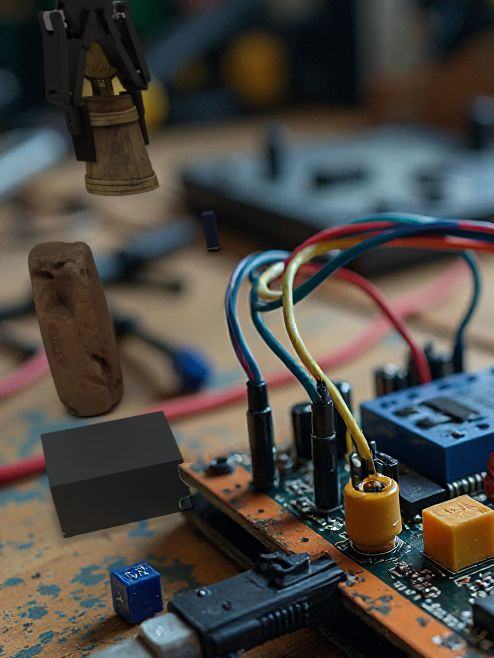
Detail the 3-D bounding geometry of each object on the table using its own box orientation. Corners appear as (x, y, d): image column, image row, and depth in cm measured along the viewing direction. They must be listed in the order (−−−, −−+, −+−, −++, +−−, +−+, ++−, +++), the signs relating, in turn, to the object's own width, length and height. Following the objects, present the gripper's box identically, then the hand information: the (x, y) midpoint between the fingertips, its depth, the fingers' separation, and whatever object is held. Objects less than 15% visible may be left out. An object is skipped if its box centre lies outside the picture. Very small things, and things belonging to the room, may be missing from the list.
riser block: (63, 538, 108) (49, 486, 105) (53, 482, 119) (40, 434, 116) (193, 508, 113) (183, 458, 110) (172, 457, 123) (162, 410, 120)
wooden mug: (153, 172, 146) (129, 27, 137) (162, 193, 134) (137, 37, 126) (84, 177, 143) (55, 30, 134) (87, 199, 132) (56, 40, 123)
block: (70, 388, 141) (31, 238, 131) (129, 382, 142) (95, 233, 132) (57, 423, 132) (14, 265, 122) (120, 417, 133) (83, 259, 123)
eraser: (208, 248, 194) (202, 211, 190) (221, 248, 194) (214, 210, 191) (206, 252, 192) (200, 214, 189) (219, 251, 192) (212, 213, 189)
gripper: (33, -40, 115) (79, 173, 126) (159, -51, 133) (190, 136, 144) (-22, -40, 117) (29, 169, 129) (109, -51, 135) (143, 134, 146)
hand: (114, 152), depth 136 cm, fingers open, 9 cm apart
